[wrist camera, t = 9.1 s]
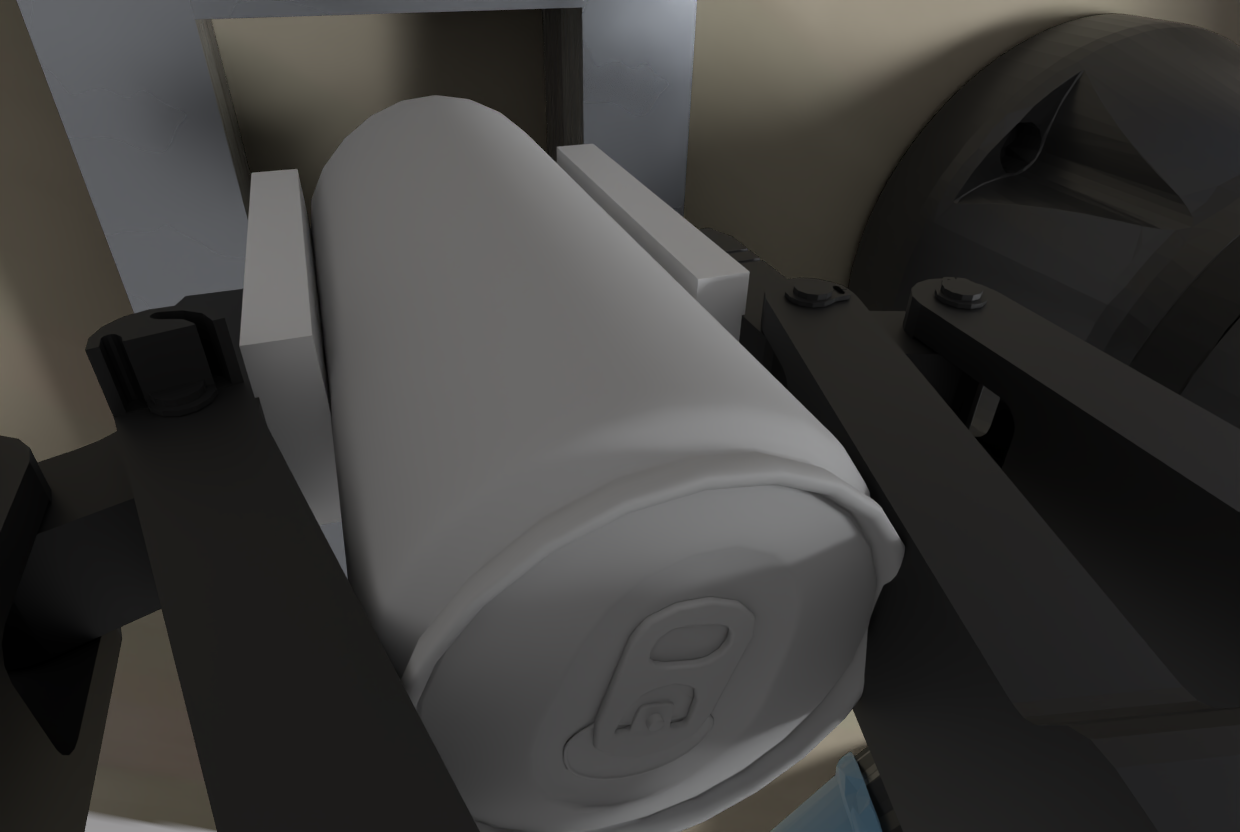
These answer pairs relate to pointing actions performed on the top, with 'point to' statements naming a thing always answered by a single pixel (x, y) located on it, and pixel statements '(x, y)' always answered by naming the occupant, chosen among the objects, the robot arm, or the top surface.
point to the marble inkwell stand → (211, 142)
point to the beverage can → (575, 492)
